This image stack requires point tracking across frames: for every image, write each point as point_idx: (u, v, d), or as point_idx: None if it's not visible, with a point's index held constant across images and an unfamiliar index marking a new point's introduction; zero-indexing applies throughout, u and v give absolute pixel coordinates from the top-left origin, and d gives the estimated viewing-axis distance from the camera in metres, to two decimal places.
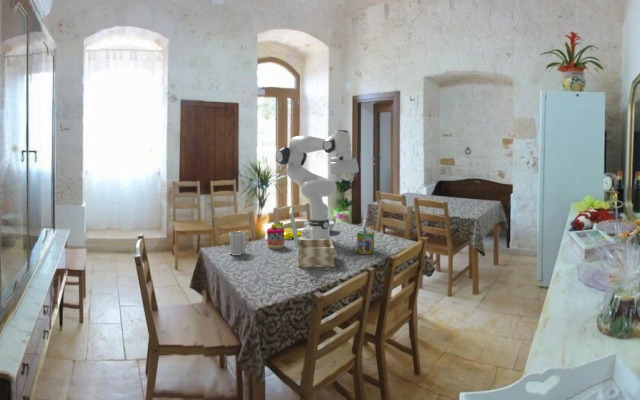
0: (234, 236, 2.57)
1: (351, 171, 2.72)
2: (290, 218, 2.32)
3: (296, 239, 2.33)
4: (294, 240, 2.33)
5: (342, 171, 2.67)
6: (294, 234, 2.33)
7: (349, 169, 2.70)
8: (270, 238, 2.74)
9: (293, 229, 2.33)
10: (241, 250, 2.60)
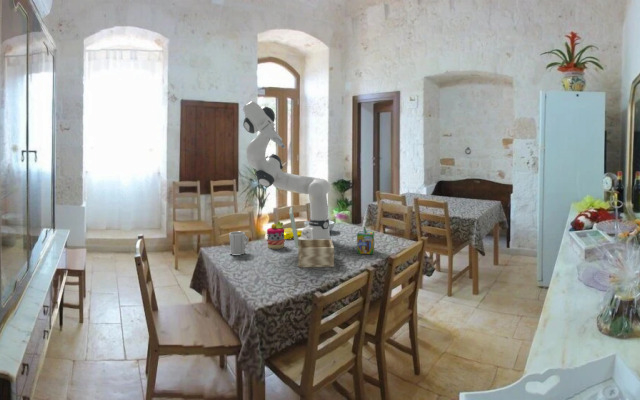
0: (234, 236, 2.57)
1: (279, 137, 2.51)
2: (290, 218, 2.32)
3: (296, 239, 2.33)
4: (294, 240, 2.33)
5: (276, 134, 2.44)
6: (294, 234, 2.33)
7: None
8: (270, 238, 2.74)
9: (293, 229, 2.33)
10: (241, 250, 2.60)
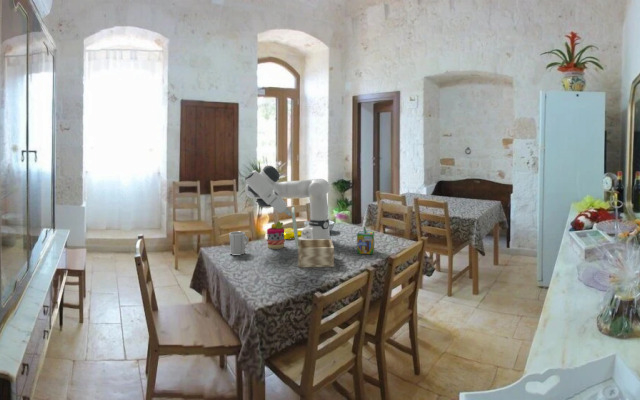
0: (234, 236, 2.57)
1: (285, 203, 2.44)
2: (292, 218, 2.32)
3: (297, 239, 2.34)
4: None
5: (284, 205, 2.36)
6: (295, 234, 2.33)
7: (283, 202, 2.42)
8: (270, 238, 2.74)
9: (294, 229, 2.33)
10: (241, 250, 2.60)
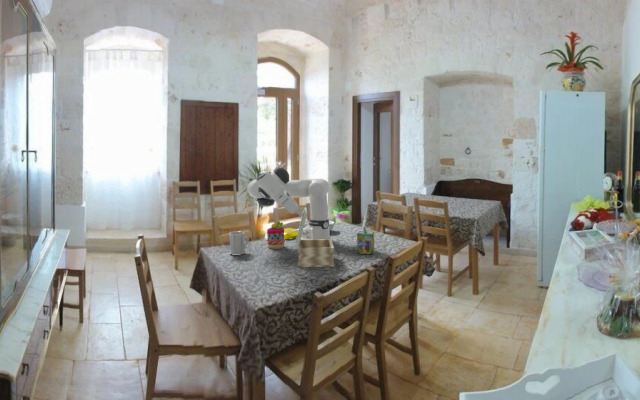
0: (234, 236, 2.57)
1: (296, 204, 2.44)
2: (303, 218, 2.32)
3: (300, 239, 2.34)
4: (298, 239, 2.34)
5: (296, 206, 2.37)
6: (300, 234, 2.33)
7: (295, 203, 2.42)
8: (270, 238, 2.74)
9: (301, 229, 2.33)
10: (241, 250, 2.60)
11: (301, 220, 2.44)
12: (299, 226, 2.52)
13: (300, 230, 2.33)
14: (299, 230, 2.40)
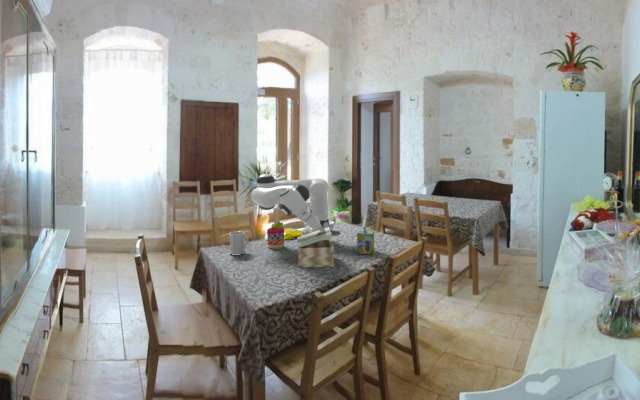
0: (234, 236, 2.57)
1: (318, 220, 2.46)
2: (326, 236, 2.34)
3: None
4: (305, 243, 2.34)
5: (319, 222, 2.39)
6: (311, 242, 2.34)
7: (317, 219, 2.44)
8: (270, 238, 2.74)
9: (316, 240, 2.34)
10: (241, 250, 2.60)
11: (319, 233, 2.46)
12: (310, 233, 2.52)
13: (314, 240, 2.34)
14: (311, 237, 2.41)
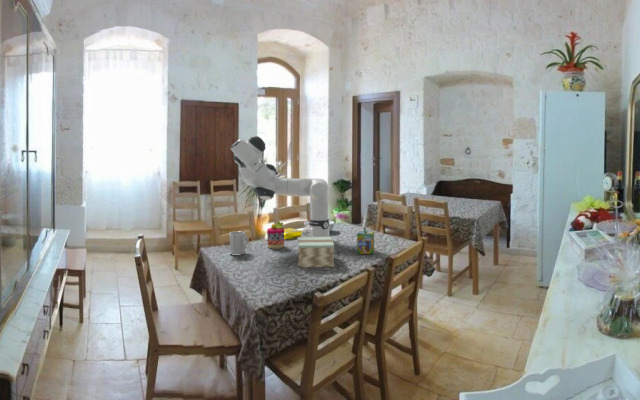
0: (234, 236, 2.57)
1: (272, 173, 2.42)
2: (329, 245, 2.35)
3: (307, 247, 2.34)
4: (306, 245, 2.34)
5: (271, 174, 2.34)
6: (312, 246, 2.34)
7: (270, 171, 2.40)
8: (270, 238, 2.74)
9: (317, 246, 2.34)
10: (241, 250, 2.60)
11: (320, 239, 2.46)
12: (311, 237, 2.53)
13: (316, 245, 2.34)
14: (312, 242, 2.42)
